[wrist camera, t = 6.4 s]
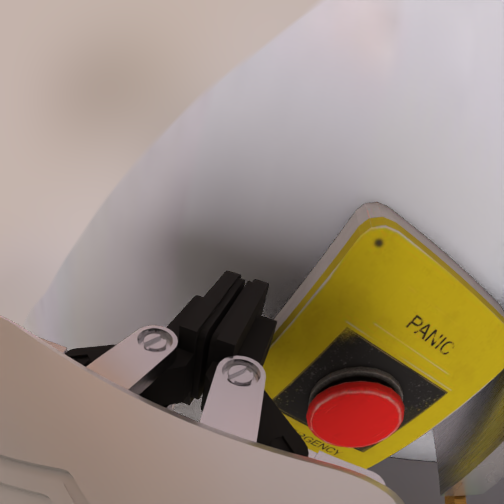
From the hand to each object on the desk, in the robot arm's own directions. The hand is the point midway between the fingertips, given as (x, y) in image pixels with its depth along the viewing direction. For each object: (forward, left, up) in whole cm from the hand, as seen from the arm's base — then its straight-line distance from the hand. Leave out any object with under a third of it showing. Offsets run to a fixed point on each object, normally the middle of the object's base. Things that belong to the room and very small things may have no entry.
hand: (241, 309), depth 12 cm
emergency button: (-1, -6, -3) cm, 7 cm away
